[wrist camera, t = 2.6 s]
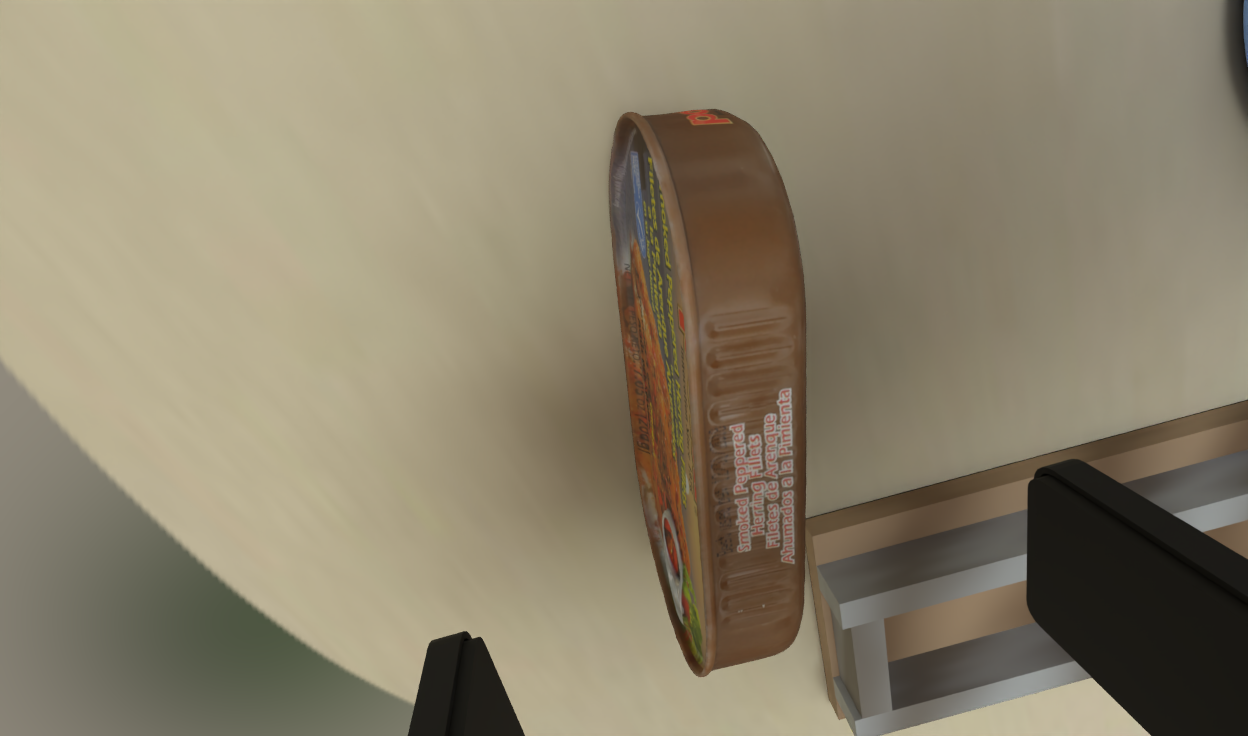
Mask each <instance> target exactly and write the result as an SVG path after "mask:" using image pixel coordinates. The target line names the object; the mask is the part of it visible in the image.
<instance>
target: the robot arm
mask: <svg viewBox="0 0 1248 736" xmlns="http://www.w3.org/2000/svg"><path fill="white" fill-rule="evenodd" d="M1026 601H1027V606H1028V609H1029V612H1030V614H1031V616H1032V617H1033V619H1034V620H1035V622H1036V623H1037V624H1038V625H1039V626H1040V627H1041V628H1042V629H1043V630H1044V631H1045V632H1046V633H1047V634H1048V635H1049V636H1050V637H1051V638H1052V639H1053V640H1054V641H1055V642H1056V643H1057V644H1058V645H1059V646H1060V647H1061V648H1062V649H1063V650H1064V651H1065V652H1067V653H1068V654H1069V655H1070V656H1071V657H1072V658H1073V659H1074V660H1075V661H1076V662H1077V663H1078V664H1079V665H1080V666H1081V667H1082V668H1083V669H1084V670H1085V671H1086V672H1087V673H1088V674H1089V675H1090V676H1091V677H1092V678H1093V679H1094V680H1095V681H1096V682H1097V683H1098V684H1099V685H1100V686H1101V687H1102V688H1103V689H1104V690H1105V691H1106V692H1107V693H1108V694H1109V695H1110V696H1111V697H1112V698H1113V699H1114V700H1115V701H1116V702H1117V703H1118V704H1120V705H1121V706H1122V707H1123V708H1124V709H1125V710H1126V711H1127V712H1128V713H1129V714H1130V715H1131V716H1132V717H1133V718H1134V719H1135V720H1136V721H1137V722H1138V723H1139V724H1140V725H1141V726H1142V727H1143V728H1144V729H1145V730H1146V731H1147V732H1148V733H1149V734H1150V735H1151V736H1248V559H1247V558H1245V557H1243V556H1242V555H1240V554H1238V553H1236V552H1235V551H1233V550H1231V549H1230V548H1228V547H1226V546H1225V545H1223V544H1221V543H1220V542H1218V541H1216V540H1215V539H1213V538H1211V537H1210V536H1208V535H1206V534H1205V533H1203V532H1201V531H1200V530H1198V529H1196V528H1195V527H1193V526H1191V525H1190V524H1188V523H1186V522H1185V521H1183V520H1181V519H1179V518H1178V517H1176V516H1174V515H1173V514H1171V513H1169V512H1168V511H1166V510H1164V509H1163V508H1161V507H1159V506H1158V505H1156V504H1154V503H1153V502H1151V501H1149V500H1148V499H1146V498H1144V497H1143V496H1141V495H1139V494H1138V493H1136V492H1134V491H1133V490H1131V489H1129V488H1128V487H1126V486H1124V485H1122V484H1121V483H1119V482H1117V481H1116V480H1114V479H1112V478H1111V477H1109V476H1107V475H1106V474H1104V473H1102V472H1101V471H1099V470H1097V469H1096V468H1094V467H1092V466H1091V465H1089V464H1087V463H1086V462H1084V461H1081V460H1079V459H1069V460H1065V461H1062V462H1058V463H1055V464H1051V465H1048V466H1044V467H1041V468H1039V469H1037V471H1036V472H1035V474H1034V479H1033V480H1030V482H1029V483H1028V499H1027V587H1026ZM408 736H525V735H524V732H523V730H522V728H521V725H520V723H519V721H518V719H517V716H516V714H515V712H514V709H513V707H512V705H511V703H510V700H509V698H508V696H507V693H506V691H505V689H504V686H503V684H502V682H501V680H500V677H499V675H498V673H497V670H496V668H495V666H494V663H493V661H492V659H491V657H490V654H489V652H488V650H487V647H486V645H485V643H484V641H483V639H482V638H481V637H477V638H474V639H472V638H471V636H470V634H469V633H468V632H467V631H464V632H460V633H457V634H453V635H450V636H446V637H443V638H439V639H436V640H432V641H431V642H430V643H429V646H428V649H427V653H426V658H425V662H424V667H423V671H422V676H421V680H420V684H419V689H418V693H417V698H416V702H415V706H414V711H413V716H412V720H411V724H410V729H409V733H408Z"/></svg>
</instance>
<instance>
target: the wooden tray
mask: <svg viewBox="0 0 1248 736" xmlns="http://www.w3.org/2000/svg"><path fill="white" fill-rule="evenodd" d="M1069 459H1079V460H1081V461H1084V462H1086V463H1087V464H1089V465H1091V466H1092V467H1094V468H1096V469H1097V470H1099V471H1101V472H1102V473H1104V474H1106V475H1107V476H1109V477H1111V478H1112V479H1114V480H1116V481H1117V482H1119V483H1121V484H1122V485H1124V486H1126V487H1128V488H1129V489H1131V490H1133V491H1134V492H1136V493H1138V494H1139V495H1141V496H1143V497H1144V498H1146V499H1148V500H1149V501H1151V502H1153V503H1154V504H1156V505H1158V506H1159V507H1161V508H1163V509H1164V510H1166V511H1168V512H1169V513H1171V514H1173V515H1174V516H1176V517H1178V518H1179V519H1181V520H1183V521H1185V522H1186V523H1188V524H1190V525H1191V526H1193V527H1195V528H1196V529H1198V530H1200V531H1201V532H1203V533H1205V534H1206V535H1208V536H1210V537H1211V538H1213V539H1215V540H1216V541H1218V542H1220V543H1221V544H1223V545H1225V546H1226V547H1228V548H1230V549H1231V550H1233V551H1235V552H1236V553H1238V554H1240V555H1242V556H1243V557H1245V558H1247V559H1248V400H1247V401H1244V402H1240V403H1236V404H1233V405H1229V406H1225V407H1221V408H1218V409H1214V410H1210V411H1207V412H1203V413H1199V414H1195V415H1192V416H1188V417H1184V418H1181V419H1177V420H1173V421H1169V422H1166V423H1162V424H1158V425H1155V426H1151V427H1147V428H1143V429H1140V430H1136V431H1132V432H1129V433H1125V434H1121V435H1117V436H1114V437H1110V438H1106V439H1103V440H1099V441H1095V442H1091V443H1088V444H1084V445H1080V446H1077V447H1073V448H1069V449H1065V450H1062V451H1058V452H1054V453H1051V454H1047V455H1043V456H1039V457H1036V458H1032V459H1028V460H1024V461H1021V462H1017V463H1013V464H1010V465H1006V466H1002V467H998V468H995V469H991V470H987V471H984V472H980V473H976V474H972V475H969V476H965V477H961V478H958V479H954V480H950V481H946V482H943V483H939V484H935V485H932V486H928V487H924V488H920V489H917V490H913V491H909V492H906V493H902V494H898V495H894V496H891V497H887V498H883V499H880V500H876V501H872V502H868V503H865V504H861V505H857V506H854V507H850V508H846V509H842V510H839V511H835V512H831V513H828V514H824V515H820V516H816V517H813V518H809V519H805V525H806V526H805V544H806V550H807V557H808V563H809V570H810V577H811V583H812V590H813V596H814V603H815V609H816V616H817V623H818V629H819V636H820V642H821V649H822V655H823V662H824V669H825V675H826V682H827V688H828V695H829V700H830V702H831V704H832V706H833V708H834V711H835V713H836V715H837V717H838V719H839V720H840V719H844V718H846V719H847V721H848V723H849V725H850V727H851V729H852V731H853V733H854V735H855V736H880V735H884V734H887V733H891V732H895V731H898V730H902V729H906V728H909V727H913V726H917V725H920V724H924V723H928V722H931V721H935V720H939V719H942V718H946V717H950V716H953V715H957V714H960V713H964V712H968V711H971V710H975V709H979V708H982V707H986V706H990V705H993V704H997V703H1001V702H1004V701H1008V700H1012V699H1015V698H1019V697H1023V696H1026V695H1030V694H1034V693H1037V692H1041V691H1045V690H1048V689H1052V688H1056V687H1059V686H1063V685H1067V684H1070V683H1074V682H1078V681H1081V680H1085V679H1088V678H1092V677H1091V676H1090V675H1089V674H1088V673H1087V672H1086V671H1085V670H1084V669H1083V668H1082V667H1081V666H1080V665H1079V664H1078V663H1077V662H1076V661H1075V660H1074V659H1073V658H1072V657H1071V656H1070V655H1069V654H1068V653H1067V652H1065V651H1064V650H1063V649H1062V648H1061V647H1060V646H1059V645H1058V644H1057V643H1056V642H1055V641H1054V640H1053V639H1052V638H1051V637H1050V636H1049V635H1048V634H1047V633H1046V632H1045V631H1044V630H1043V629H1042V628H1041V627H1040V626H1039V625H1038V624H1037V623H1036V622H1035V620H1034V619H1033V617H1032V616H1031V614H1030V612H1029V609H1028V606H1027V601H1026V587H1027V499H1028V483H1029V482H1030V480H1033V479H1034V474H1035V472H1036V471H1037V469H1039V468H1041V467H1044V466H1048V465H1051V464H1055V463H1058V462H1062V461H1065V460H1069Z"/></svg>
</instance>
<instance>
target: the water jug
mask: <svg viewBox="0 0 1248 736" xmlns="http://www.w3.org/2000/svg"><path fill="white" fill-rule="evenodd" d="M1243 27H1244V44H1245V53H1246V60H1247V65H1248V0H1244V10H1243Z"/></svg>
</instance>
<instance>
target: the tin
mask: <svg viewBox="0 0 1248 736" xmlns="http://www.w3.org/2000/svg"><path fill="white" fill-rule="evenodd" d="M609 203H610V223H611V233H612V247H613V258H614V268H615V278H616V285H617V296H618V305H619V313H620V322H621V332H622V340H623V350H624V359H625V368H626V378H627V387H628V397H629V406H630V416H631V425H632V433H633V442H634V452H635V460H636V468H637V474H638V481H639V486H640V493H641V499H642V505H643V510H644V516H645V521H646V526H647V531H648V536H649V539H650V544H651V549H652V553H653V557H654V560H655V565H656V569H657V573H658V577H659V580H660V584H661V587H662V590H663V594H664V598H665V602H666V605H667V609H668V613H669V616H670V620H671V622H672V625H673V628H674V631H675V634H676V638H677V640H678V642H679V644H680V647H681V650H682V652H683V655H684V657H685V659H686V662H687V663H688V665H689V667H690V669H691V670H692V671H693V673H694V674H695V675H696V676H698V677H705V676H707V675H708V674H709V673H710V672H711V671H713V670H716V669H720V668H725V667H729V666H733V665H737V664H742V663H746V662H750V661H754V660H758V659H762V658H766V657H770V656H773V655H776V654H778V653H780V652H782V651H784V650H786V649H787V648H789V646H790V645H791V644H792V643H793V642H794V640H795V638H796V636H797V634H798V631H799V628H800V624H801V620H802V615H803V607H804V582H805V526H806V525H805V509H806V302H805V287H804V275H803V267H802V260H801V254H800V248H799V241H798V236H797V231H796V226H795V221H794V216H793V213H792V209H791V206H790V203H789V199H788V196H787V193H786V189H785V186H784V183H783V180H782V178H781V175H780V173H779V171H778V168H777V166H776V164H775V162H774V159H773V157H772V155H771V153H770V152H769V150H768V148H767V146H766V145H765V143H764V141H763V140H762V138H761V137H760V135H759V133H758V132H757V131H756V130H755V129H754V128H753V127H752V126H751V125H750V124H748V123H747V122H745V121H743V120H741V119H740V118H738V117H736V116H734V115H732V114H730V113H728V112H725V111H722V110H717V109H707V110H691V111H684V112H677V113H669V114H662V115H651V116H641V115H639V114H637V113H634V112H627V113H625V114H623V115H622V116H621V117H620V119H619V121H618V123H617V126H616V129H615V133H614V140H613V146H612V152H611V162H610V174H609Z"/></svg>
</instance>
